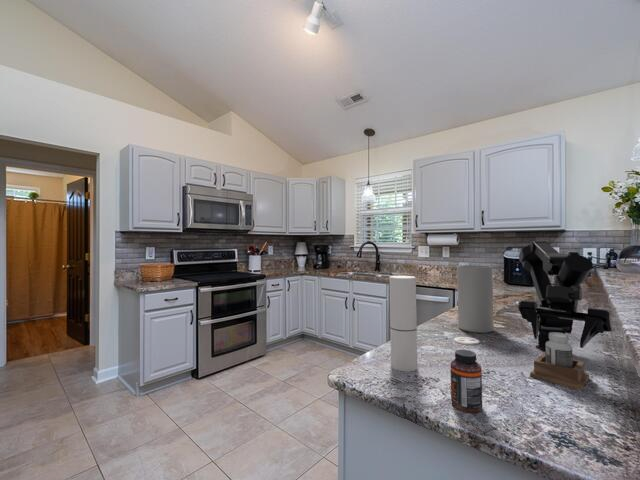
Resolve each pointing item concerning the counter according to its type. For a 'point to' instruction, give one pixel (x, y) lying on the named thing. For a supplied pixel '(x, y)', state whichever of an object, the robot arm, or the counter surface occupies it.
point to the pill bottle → (559, 350)
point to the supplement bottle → (466, 382)
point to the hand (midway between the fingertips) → (557, 342)
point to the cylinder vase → (475, 298)
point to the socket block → (560, 373)
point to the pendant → (466, 340)
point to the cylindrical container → (403, 323)
